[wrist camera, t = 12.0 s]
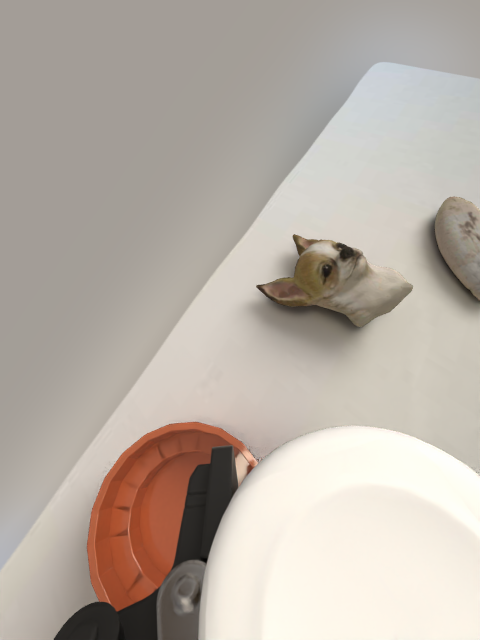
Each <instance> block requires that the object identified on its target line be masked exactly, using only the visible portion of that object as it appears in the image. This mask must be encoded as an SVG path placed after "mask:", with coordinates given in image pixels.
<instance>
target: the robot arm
mask: <svg viewBox="0 0 480 640" xmlns="http://www.w3.org/2000/svg"><path fill="white" fill-rule="evenodd" d="M237 489H238V477H237V470H236V463H235V456H234V448H233V445H229V446H218V447H212V451H211V460H210V464H200V465H197V467H196V468H195V470H194V471H193V473H192V475H191V476H190V478H189V483H188V489H187V496H186V500H185V508H184V510H183V516H182V521H181V527H180V532H179V538H178V543H177V549H176V554H175V559H174V563H173V566H172V569H171V571H170V572H169V573H168V575H167V576H166V577H165V579H164V580H163V582H162V584H161V586H160V587H159V588H158V589H157V590H156V591H154V592H153V593H152V594H150V595H149V596H147V597H146V598H144V599H142V600H140V601H138V602H136V603H134V604H132V605H130V606H127V607H125V608H123V609H121V610H119V611H116V609H115V608H114V607H113V606H112V605H111V604H109V603H107V602H95V603H91V604H89V605H87V606H85V607H83V608H81V609H80V610H79V611H77V612H76V613H75V614H74V615H73V616H72V617H70V618H69V619H68V621H67V622H66V623H65V624H64V625H63V627H62V628H61V629H60V631H59V632H58V634H57V635H56V637H55V638H54V640H198V634H199V612H200V602H201V594H202V586H203V578H204V574H205V569H206V565H207V561H208V557H209V553H210V550H211V546H212V543H213V540H214V537H215V535H216V532H217V530H218V527H219V524H220V522H221V519H222V517H223V515H224V513H225V511H226V509H227V507H228V505H229V503H230V501H231V499H232V497H233V495H234V494H235V492H236V491H237Z"/></svg>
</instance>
